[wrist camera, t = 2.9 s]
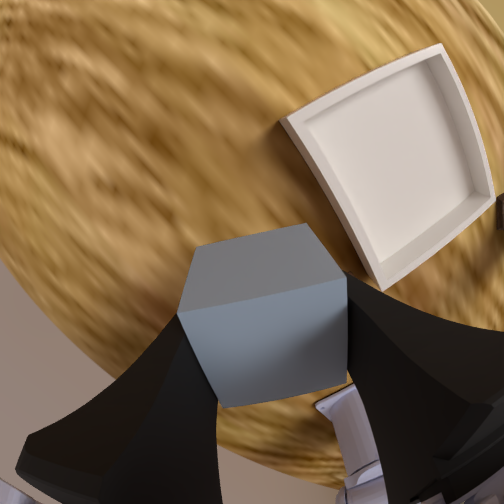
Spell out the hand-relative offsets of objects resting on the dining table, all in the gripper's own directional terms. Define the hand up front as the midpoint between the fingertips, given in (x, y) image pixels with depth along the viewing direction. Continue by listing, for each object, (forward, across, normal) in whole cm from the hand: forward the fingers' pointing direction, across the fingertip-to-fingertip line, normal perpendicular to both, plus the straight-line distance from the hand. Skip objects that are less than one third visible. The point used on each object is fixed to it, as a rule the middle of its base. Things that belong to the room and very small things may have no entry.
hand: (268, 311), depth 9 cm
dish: (+8, -10, -3) cm, 14 cm away
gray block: (+2, 0, 0) cm, 2 cm away
